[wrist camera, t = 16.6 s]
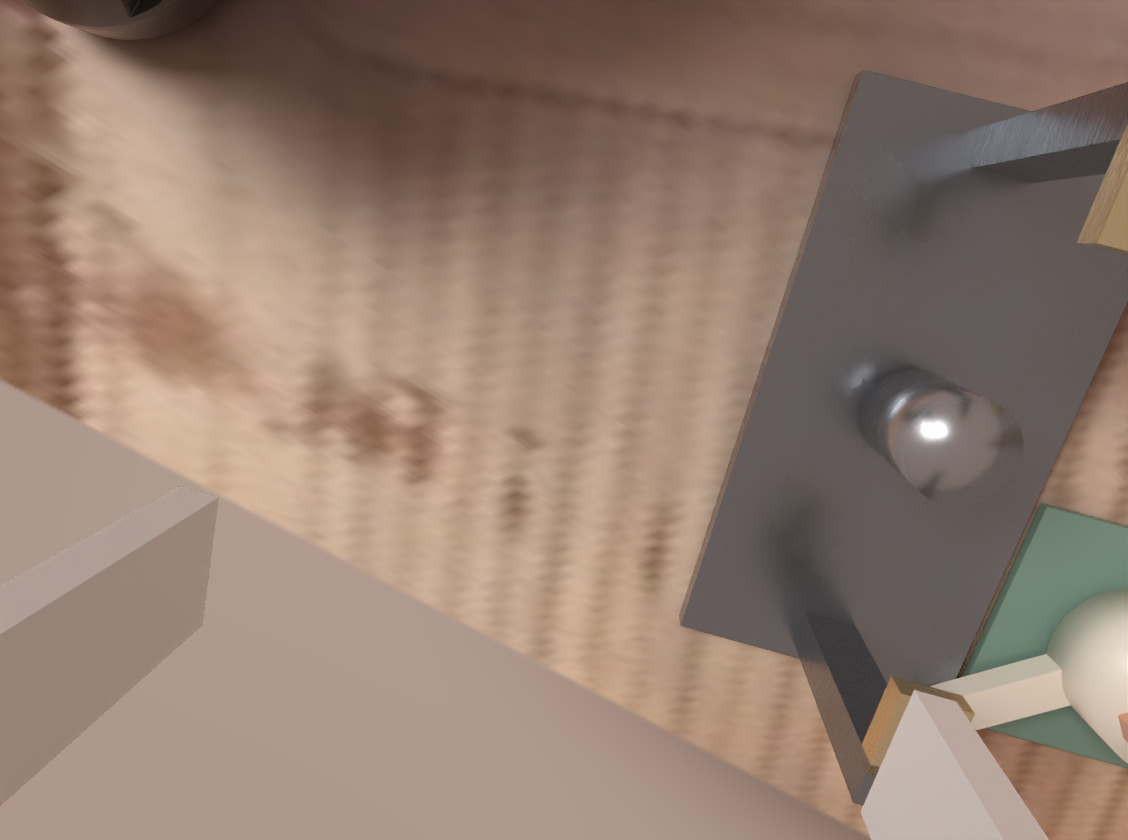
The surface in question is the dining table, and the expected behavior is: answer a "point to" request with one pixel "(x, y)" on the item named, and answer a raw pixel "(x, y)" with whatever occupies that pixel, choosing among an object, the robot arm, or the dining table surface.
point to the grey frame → (916, 393)
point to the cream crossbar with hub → (1064, 675)
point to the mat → (1052, 613)
